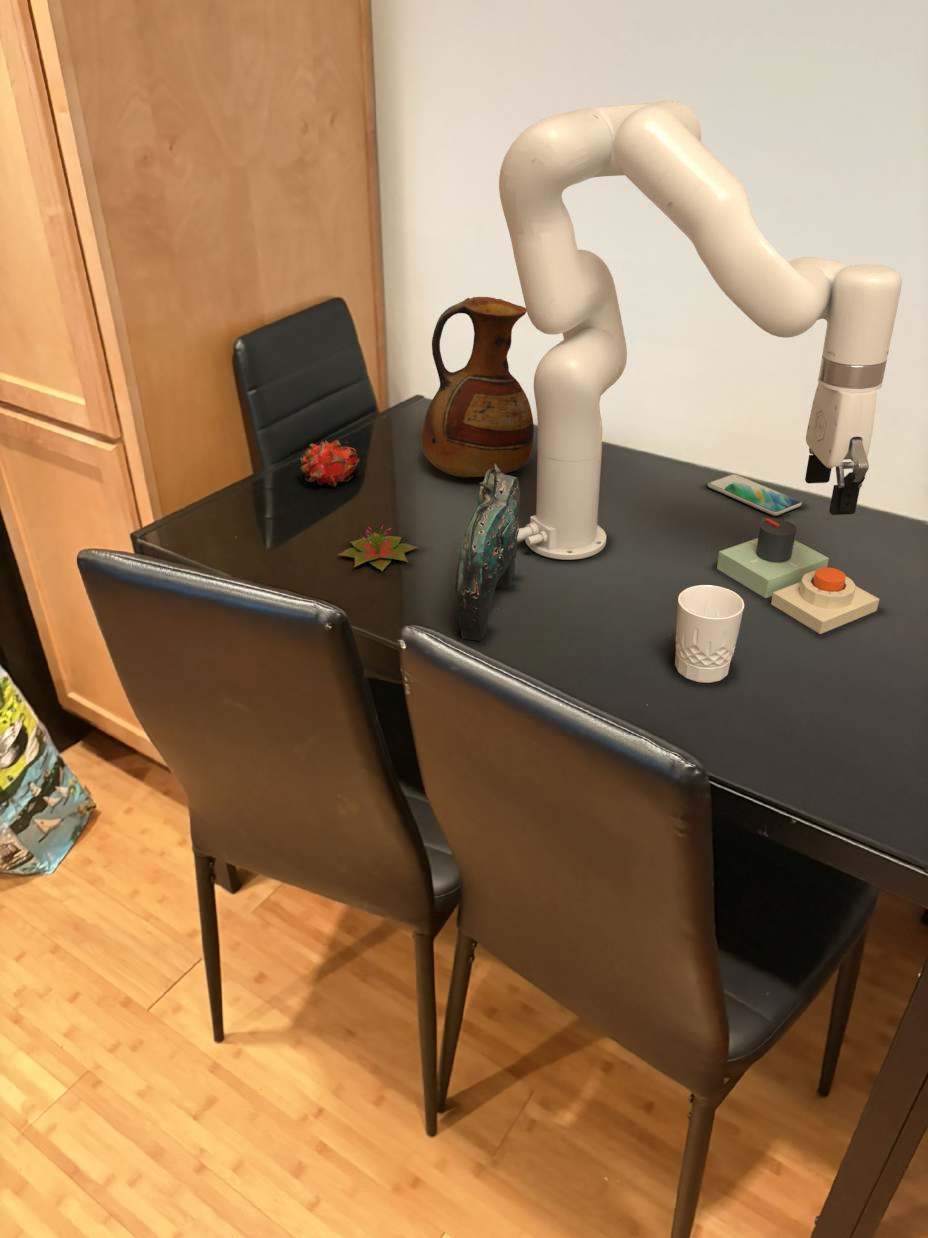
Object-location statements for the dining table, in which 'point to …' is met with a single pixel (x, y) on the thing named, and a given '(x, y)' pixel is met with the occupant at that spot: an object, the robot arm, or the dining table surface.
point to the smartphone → (754, 494)
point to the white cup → (707, 632)
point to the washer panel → (768, 567)
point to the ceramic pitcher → (479, 398)
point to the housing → (824, 604)
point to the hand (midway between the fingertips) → (828, 497)
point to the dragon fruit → (329, 463)
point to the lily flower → (378, 550)
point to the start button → (829, 579)
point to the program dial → (776, 540)
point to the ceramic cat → (487, 552)
